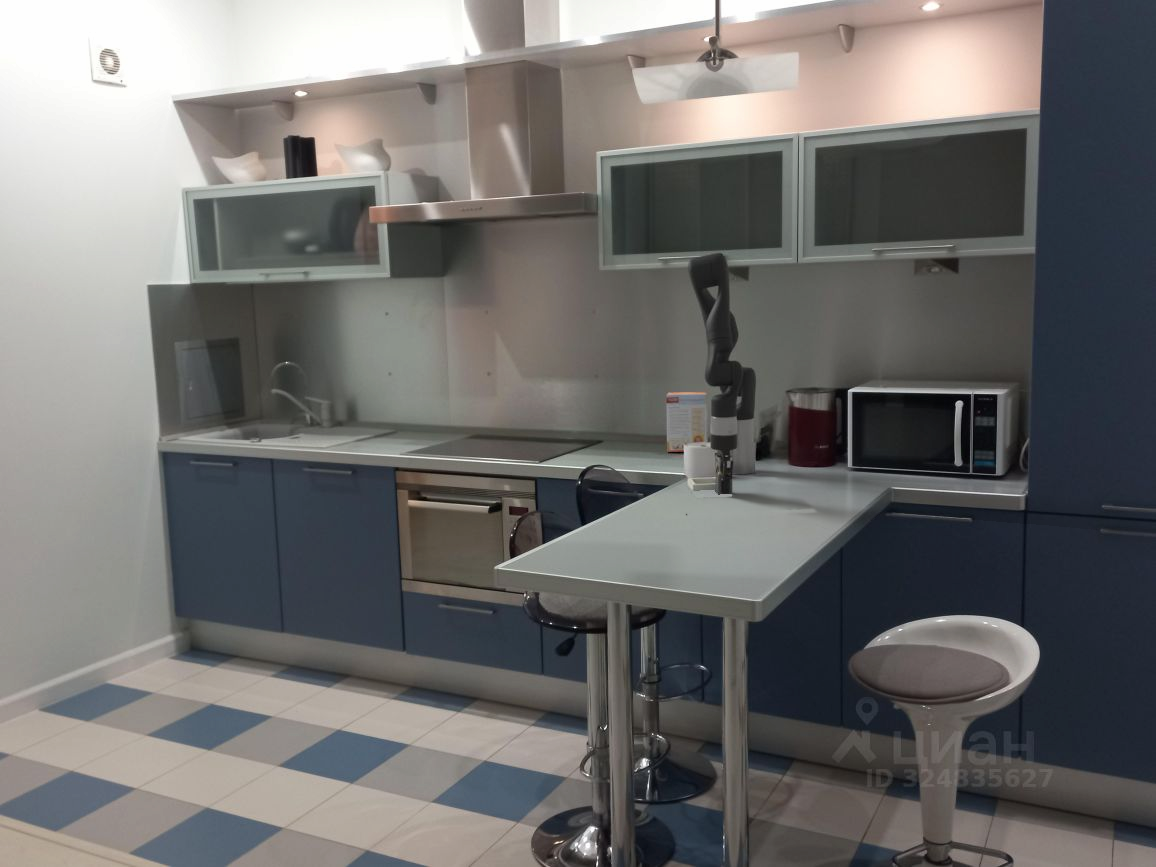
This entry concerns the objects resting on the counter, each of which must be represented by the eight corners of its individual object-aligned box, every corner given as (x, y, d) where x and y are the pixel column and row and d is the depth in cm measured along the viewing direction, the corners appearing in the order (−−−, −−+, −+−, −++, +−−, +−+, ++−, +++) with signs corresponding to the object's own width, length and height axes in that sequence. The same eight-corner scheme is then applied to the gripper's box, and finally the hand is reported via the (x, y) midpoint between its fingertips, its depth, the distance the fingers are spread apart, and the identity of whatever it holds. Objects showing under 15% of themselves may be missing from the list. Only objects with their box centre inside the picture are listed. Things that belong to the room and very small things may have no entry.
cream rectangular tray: (722, 486, 306) (722, 476, 306) (735, 500, 288) (735, 489, 288) (685, 487, 306) (685, 478, 305) (696, 501, 288) (696, 491, 287)
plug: (729, 492, 294) (729, 469, 293) (732, 495, 290) (732, 472, 289) (715, 492, 294) (715, 470, 293) (718, 495, 290) (718, 472, 289)
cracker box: (707, 450, 364) (707, 391, 360) (707, 453, 358) (706, 393, 355) (668, 450, 366) (667, 391, 363) (666, 453, 361) (666, 393, 357)
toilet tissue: (718, 480, 314) (718, 448, 313) (679, 479, 317) (679, 447, 315) (722, 473, 324) (722, 442, 323) (684, 472, 327) (684, 441, 326)
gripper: (742, 435, 282) (742, 496, 285) (731, 427, 296) (731, 485, 299) (715, 436, 282) (715, 497, 285) (705, 428, 296) (705, 486, 299)
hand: (723, 491), depth 292 cm, fingers closed on plug, 4 cm apart
